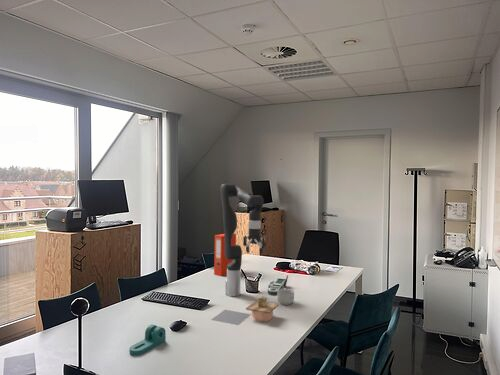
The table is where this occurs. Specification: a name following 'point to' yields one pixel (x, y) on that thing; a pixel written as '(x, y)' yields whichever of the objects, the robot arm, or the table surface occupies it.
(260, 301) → the lid
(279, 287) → the communication device
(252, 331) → the table surface
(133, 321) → the table surface
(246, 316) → the mat
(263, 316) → the bowl
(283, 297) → the teacup
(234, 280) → the robot arm
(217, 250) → the file binder
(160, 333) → the bracket
